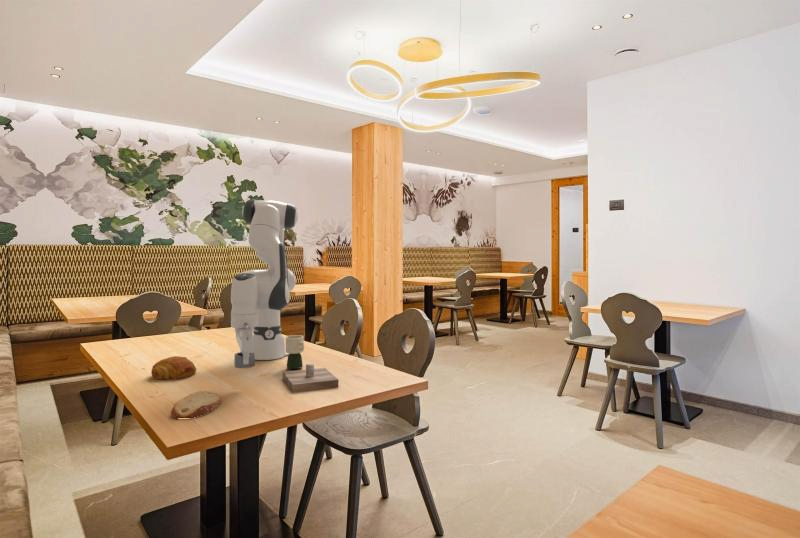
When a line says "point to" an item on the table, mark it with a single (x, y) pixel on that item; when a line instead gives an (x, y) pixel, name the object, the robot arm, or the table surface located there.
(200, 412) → the bread slice
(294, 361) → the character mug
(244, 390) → the table surface
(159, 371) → the croissant
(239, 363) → the steel ring
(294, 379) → the post stand
